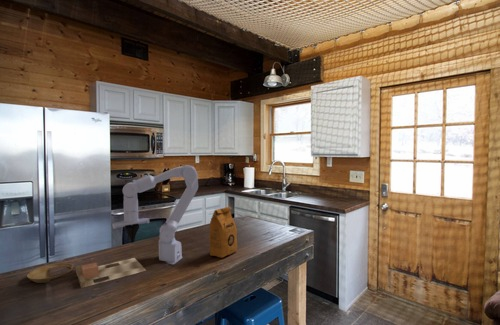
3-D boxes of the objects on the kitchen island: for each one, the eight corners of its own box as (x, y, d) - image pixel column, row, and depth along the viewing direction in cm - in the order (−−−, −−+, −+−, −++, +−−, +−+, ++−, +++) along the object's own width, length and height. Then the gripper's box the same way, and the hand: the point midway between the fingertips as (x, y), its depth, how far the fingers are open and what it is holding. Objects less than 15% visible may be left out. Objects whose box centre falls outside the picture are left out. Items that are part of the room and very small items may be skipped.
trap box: (134, 260, 122) (134, 253, 122) (146, 273, 108) (146, 265, 108) (76, 274, 108) (75, 266, 108) (81, 291, 95) (81, 282, 95)
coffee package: (240, 252, 130) (239, 207, 129) (221, 260, 120) (221, 211, 120) (225, 248, 136) (224, 204, 135) (206, 255, 127) (206, 208, 126)
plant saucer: (50, 268, 115) (49, 262, 115) (82, 269, 113) (82, 263, 113) (16, 285, 100) (16, 278, 100) (53, 286, 99) (52, 279, 99)
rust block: (96, 272, 107) (96, 262, 107) (98, 276, 103) (98, 266, 103) (81, 275, 104) (81, 265, 104) (83, 280, 100) (82, 269, 100)
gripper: (145, 207, 124) (146, 236, 124) (110, 211, 115) (111, 243, 115) (150, 209, 118) (151, 240, 119) (114, 214, 109) (115, 247, 110)
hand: (131, 242), depth 117 cm, fingers closed
